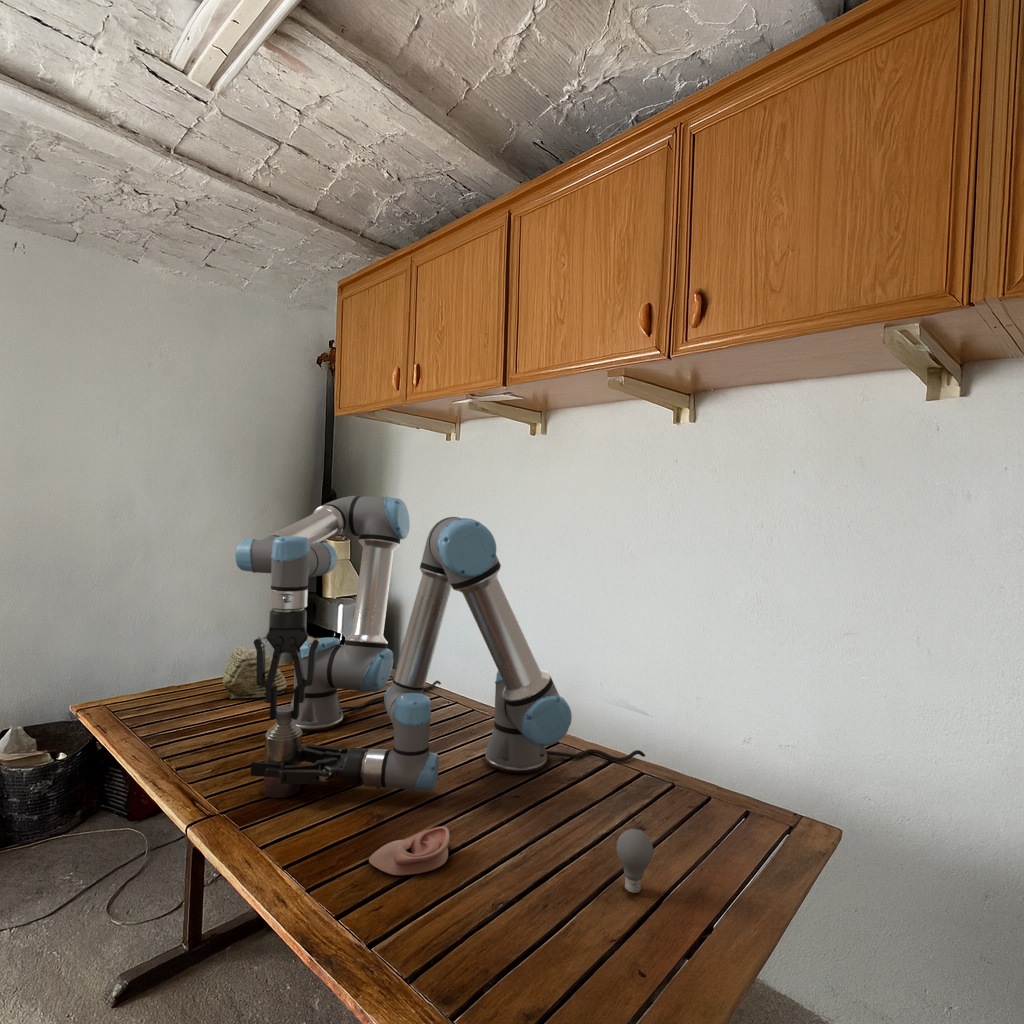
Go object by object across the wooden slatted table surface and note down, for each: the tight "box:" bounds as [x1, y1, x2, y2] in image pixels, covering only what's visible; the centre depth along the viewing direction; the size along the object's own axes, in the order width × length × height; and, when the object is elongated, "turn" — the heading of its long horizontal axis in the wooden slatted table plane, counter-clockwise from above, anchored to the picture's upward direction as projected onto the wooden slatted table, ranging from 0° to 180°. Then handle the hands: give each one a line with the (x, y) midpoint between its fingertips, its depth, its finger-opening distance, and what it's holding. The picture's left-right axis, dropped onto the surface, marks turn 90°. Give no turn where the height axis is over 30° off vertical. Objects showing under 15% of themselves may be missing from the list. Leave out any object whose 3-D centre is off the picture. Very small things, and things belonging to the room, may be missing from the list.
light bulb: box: [615, 828, 654, 894], centre depth 106 cm, size 6×6×10 cm
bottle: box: [262, 719, 303, 799], centre depth 136 cm, size 7×7×17 cm
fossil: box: [222, 646, 288, 699], centre depth 198 cm, size 9×18×15 cm, turn 132°
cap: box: [274, 705, 293, 721], centre depth 136 cm, size 4×4×2 cm
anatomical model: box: [368, 826, 451, 876], centre depth 112 cm, size 13×4×12 cm
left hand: (284, 717), depth 136 cm, fingers closed on cap, 4 cm apart
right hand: (260, 760), depth 136 cm, fingers closed on bottle, 7 cm apart
